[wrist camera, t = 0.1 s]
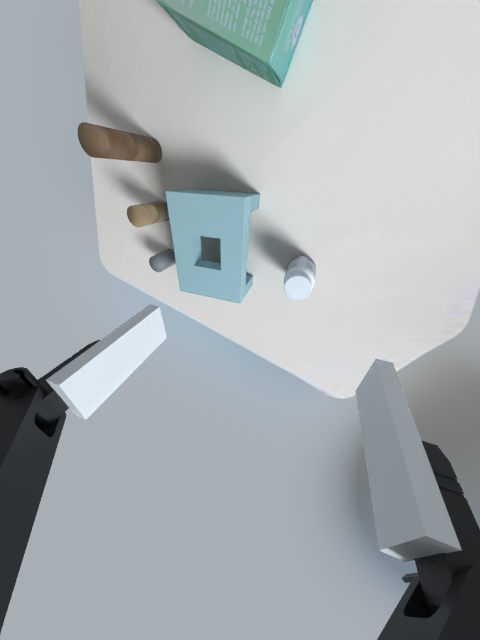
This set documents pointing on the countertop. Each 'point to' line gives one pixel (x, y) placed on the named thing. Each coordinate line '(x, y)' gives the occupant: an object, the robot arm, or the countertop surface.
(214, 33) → the box
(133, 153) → the walnut pin
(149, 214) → the oak pin
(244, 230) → the bridge
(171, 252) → the charcoal pin
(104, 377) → the robot arm
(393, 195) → the countertop surface
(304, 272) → the pill bottle
